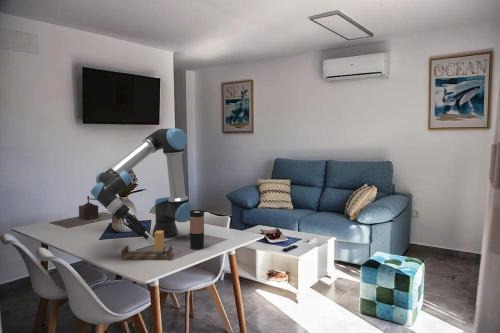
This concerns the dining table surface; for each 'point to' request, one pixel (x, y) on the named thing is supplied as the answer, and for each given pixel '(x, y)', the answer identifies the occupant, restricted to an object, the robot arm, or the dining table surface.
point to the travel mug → (197, 229)
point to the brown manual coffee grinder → (88, 211)
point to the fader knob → (159, 243)
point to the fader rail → (145, 255)
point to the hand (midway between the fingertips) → (153, 242)
